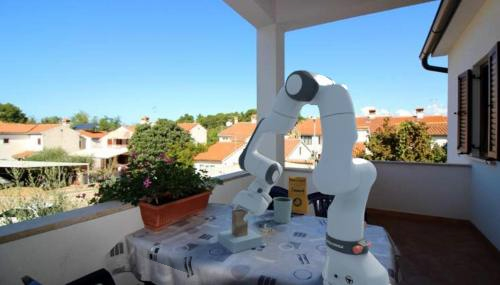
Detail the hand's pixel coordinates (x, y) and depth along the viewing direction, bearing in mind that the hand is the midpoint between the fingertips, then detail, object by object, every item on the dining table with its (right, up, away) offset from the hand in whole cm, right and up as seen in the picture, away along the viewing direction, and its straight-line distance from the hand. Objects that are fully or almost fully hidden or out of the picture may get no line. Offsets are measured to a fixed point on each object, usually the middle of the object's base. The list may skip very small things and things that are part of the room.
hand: (238, 217), depth 112 cm
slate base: (+1, -11, +1) cm, 11 cm away
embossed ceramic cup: (+23, -11, +31) cm, 40 cm away
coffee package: (+34, -10, +46) cm, 58 cm away
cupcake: (+56, -11, +13) cm, 58 cm away
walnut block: (+1, -7, +1) cm, 7 cm away
